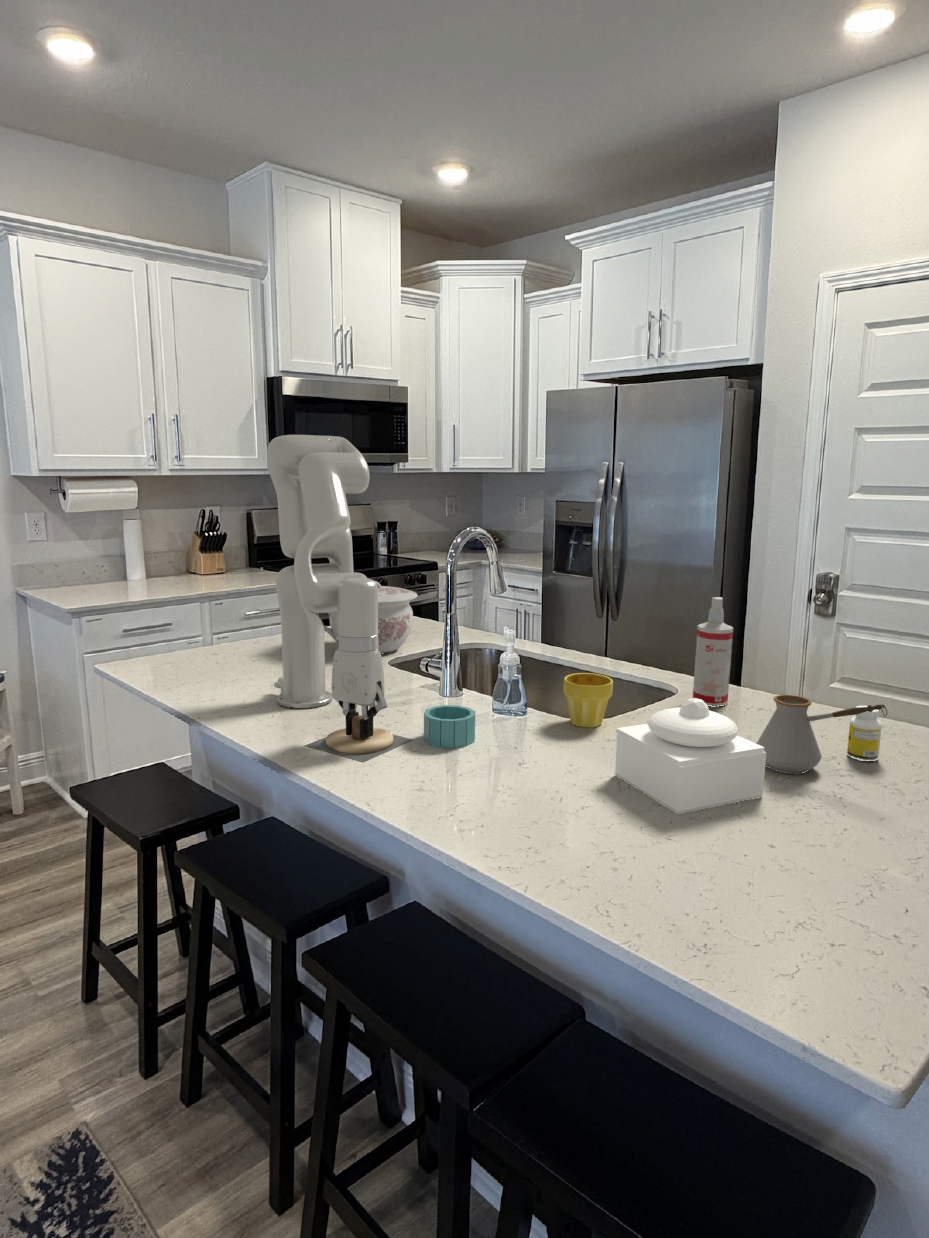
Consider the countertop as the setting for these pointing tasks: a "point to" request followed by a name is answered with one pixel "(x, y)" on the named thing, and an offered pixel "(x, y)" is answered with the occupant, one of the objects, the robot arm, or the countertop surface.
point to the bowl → (449, 726)
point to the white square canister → (690, 759)
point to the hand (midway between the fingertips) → (359, 734)
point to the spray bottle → (713, 657)
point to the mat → (359, 757)
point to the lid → (359, 740)
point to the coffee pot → (796, 734)
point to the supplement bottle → (865, 735)
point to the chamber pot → (387, 618)
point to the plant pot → (587, 697)
